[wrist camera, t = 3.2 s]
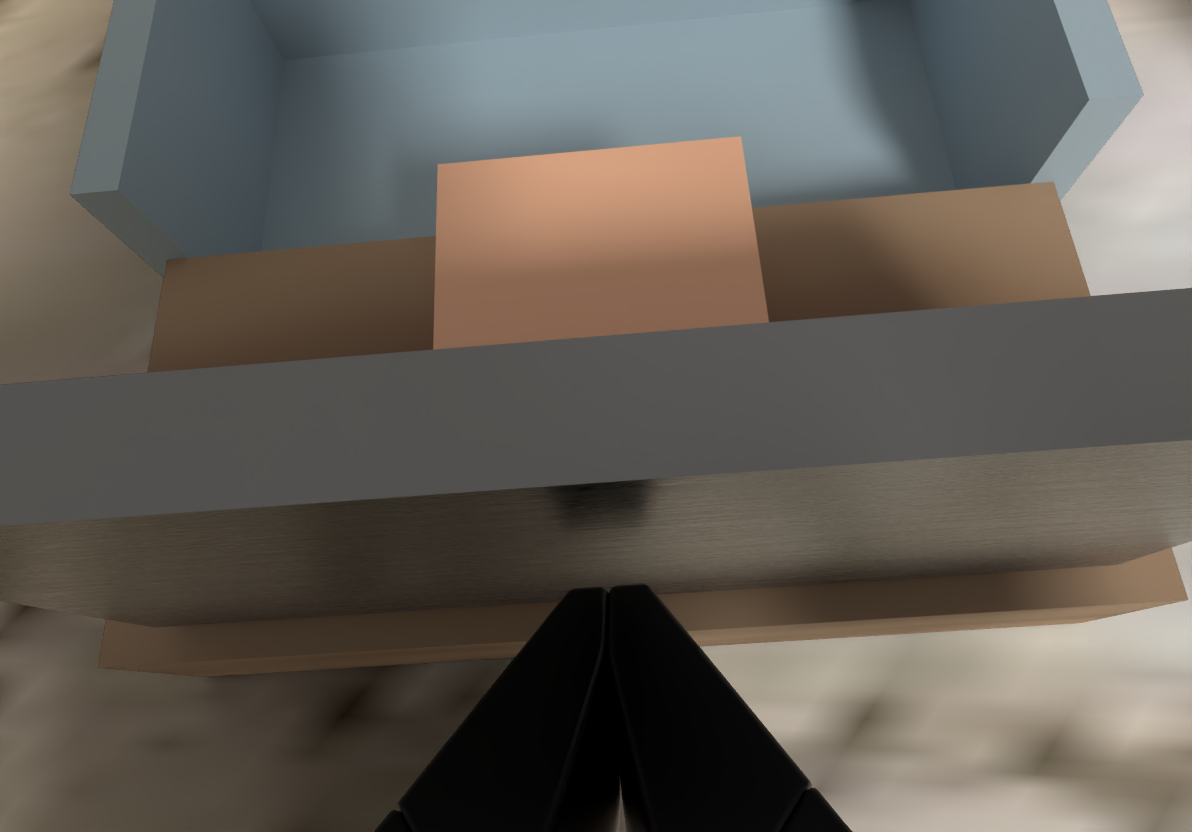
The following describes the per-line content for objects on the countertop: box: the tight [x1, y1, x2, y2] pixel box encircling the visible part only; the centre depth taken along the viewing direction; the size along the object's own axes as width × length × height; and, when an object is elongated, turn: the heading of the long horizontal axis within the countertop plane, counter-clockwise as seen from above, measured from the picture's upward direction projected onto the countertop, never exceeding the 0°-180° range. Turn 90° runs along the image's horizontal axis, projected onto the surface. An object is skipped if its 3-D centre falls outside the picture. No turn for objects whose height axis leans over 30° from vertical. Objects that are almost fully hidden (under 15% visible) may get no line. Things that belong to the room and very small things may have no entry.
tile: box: [433, 136, 769, 350], centre depth 12 cm, size 4×4×2 cm
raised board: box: [98, 182, 1188, 677], centre depth 14 cm, size 7×16×3 cm, turn 93°
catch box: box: [70, 0, 1144, 278], centre depth 16 cm, size 8×17×5 cm, turn 93°
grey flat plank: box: [0, 288, 1192, 628], centre depth 9 cm, size 1×14×6 cm, turn 93°
